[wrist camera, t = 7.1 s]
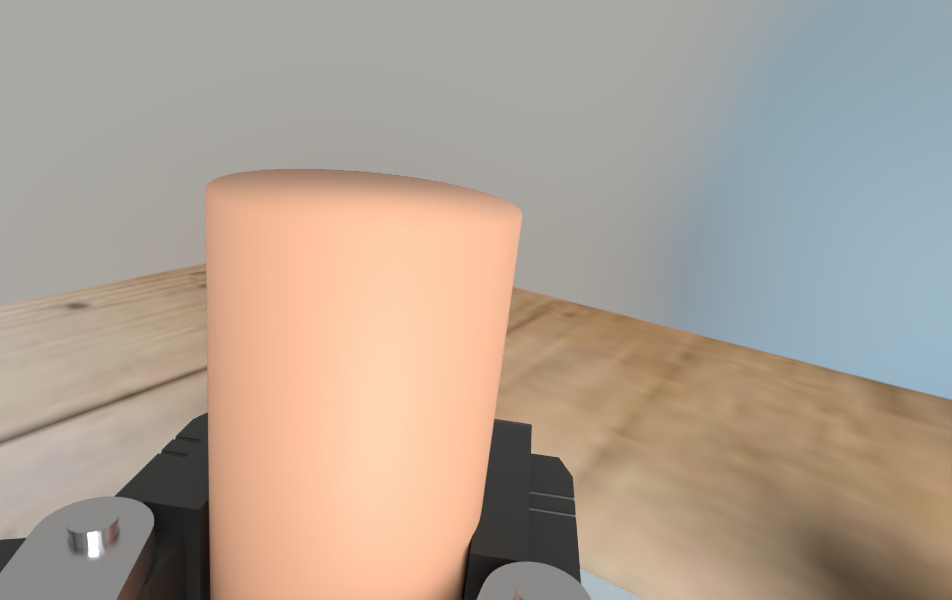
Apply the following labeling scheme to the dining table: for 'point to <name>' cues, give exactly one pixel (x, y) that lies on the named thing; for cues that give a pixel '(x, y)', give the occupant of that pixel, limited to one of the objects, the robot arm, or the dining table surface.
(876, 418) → the dining table surface
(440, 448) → the wooden peg
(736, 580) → the dining table surface
